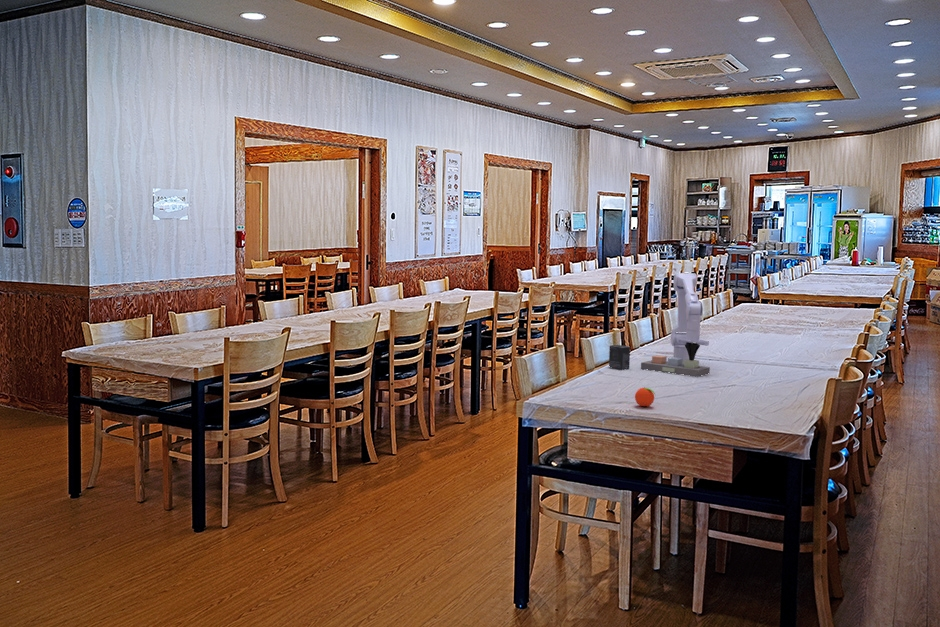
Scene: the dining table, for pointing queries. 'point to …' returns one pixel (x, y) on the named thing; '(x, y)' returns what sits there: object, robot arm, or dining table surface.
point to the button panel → (675, 368)
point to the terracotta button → (659, 359)
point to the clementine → (644, 396)
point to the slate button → (675, 361)
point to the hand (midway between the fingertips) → (691, 359)
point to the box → (619, 356)
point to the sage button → (691, 364)
